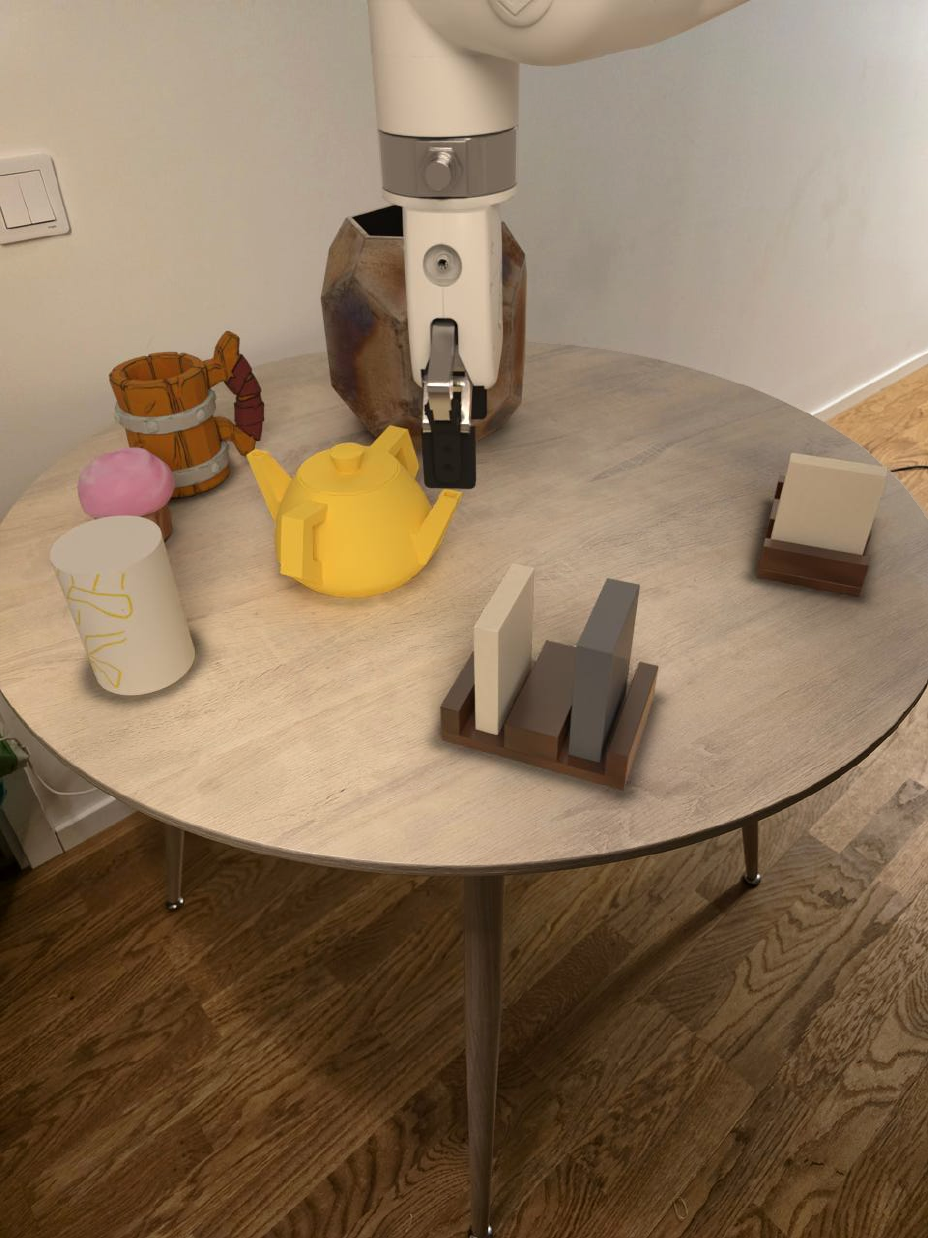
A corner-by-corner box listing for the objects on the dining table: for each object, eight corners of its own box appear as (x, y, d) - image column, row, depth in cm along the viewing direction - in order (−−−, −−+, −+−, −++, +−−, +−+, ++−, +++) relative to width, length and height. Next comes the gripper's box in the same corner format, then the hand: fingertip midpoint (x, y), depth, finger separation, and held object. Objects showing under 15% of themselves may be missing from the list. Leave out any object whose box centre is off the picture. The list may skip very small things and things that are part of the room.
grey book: (626, 691, 68) (640, 584, 61) (600, 763, 62) (612, 653, 55) (596, 684, 68) (607, 577, 62) (567, 754, 62) (576, 645, 56)
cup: (74, 673, 72) (26, 554, 65) (149, 621, 77) (112, 505, 70) (142, 708, 69) (99, 586, 61) (215, 651, 74) (183, 532, 67)
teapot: (416, 501, 93) (409, 396, 85) (470, 587, 80) (468, 473, 73) (260, 533, 88) (238, 426, 81) (292, 629, 76) (270, 512, 69)
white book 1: (531, 668, 70) (535, 567, 64) (497, 735, 64) (498, 631, 58) (510, 663, 70) (512, 562, 64) (475, 729, 65) (473, 626, 58)
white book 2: (857, 562, 80) (888, 466, 74) (856, 572, 79) (887, 476, 73) (768, 546, 83) (791, 452, 77) (766, 556, 82) (789, 461, 75)
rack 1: (653, 698, 68) (658, 665, 66) (623, 790, 61) (628, 757, 59) (487, 658, 73) (487, 626, 70) (441, 740, 65) (439, 706, 63)
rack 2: (864, 519, 88) (873, 489, 86) (858, 597, 78) (869, 565, 76) (772, 504, 91) (779, 474, 89) (756, 577, 81) (763, 546, 79)
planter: (559, 444, 102) (570, 231, 88) (359, 481, 96) (335, 260, 82) (493, 375, 119) (492, 186, 104) (319, 403, 113) (293, 207, 98)
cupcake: (199, 521, 91) (177, 434, 84) (172, 569, 84) (146, 478, 78) (116, 519, 91) (89, 433, 85) (83, 567, 84) (50, 477, 78)
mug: (122, 469, 100) (83, 342, 91) (258, 435, 106) (235, 312, 97) (144, 511, 92) (105, 377, 83) (289, 471, 99) (267, 342, 89)
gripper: (510, 203, 40) (507, 520, 50) (524, 134, 53) (519, 396, 64) (350, 204, 40) (381, 516, 51) (403, 135, 54) (419, 394, 65)
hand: (458, 449), depth 57 cm, fingers open, 9 cm apart
